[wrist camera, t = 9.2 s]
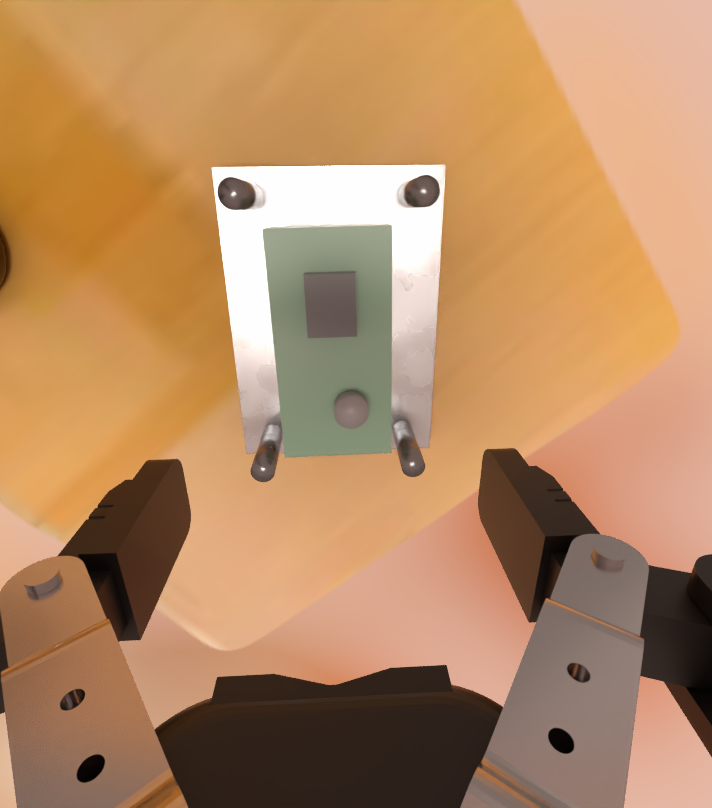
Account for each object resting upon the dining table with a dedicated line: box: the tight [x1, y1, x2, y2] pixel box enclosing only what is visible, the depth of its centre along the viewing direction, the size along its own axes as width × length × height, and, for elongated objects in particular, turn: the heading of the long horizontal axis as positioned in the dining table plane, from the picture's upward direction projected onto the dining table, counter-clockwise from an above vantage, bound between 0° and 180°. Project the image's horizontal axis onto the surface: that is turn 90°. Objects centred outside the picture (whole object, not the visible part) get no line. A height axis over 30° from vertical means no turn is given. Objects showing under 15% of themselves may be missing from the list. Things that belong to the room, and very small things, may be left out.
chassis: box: [212, 165, 446, 482], centre depth 27 cm, size 18×13×6 cm
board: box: [262, 223, 392, 458], centre depth 24 cm, size 12×6×4 cm, turn 2°
